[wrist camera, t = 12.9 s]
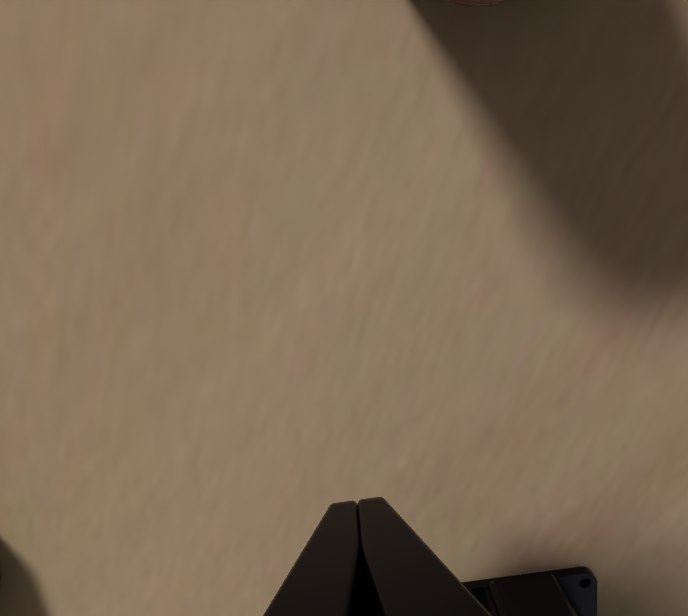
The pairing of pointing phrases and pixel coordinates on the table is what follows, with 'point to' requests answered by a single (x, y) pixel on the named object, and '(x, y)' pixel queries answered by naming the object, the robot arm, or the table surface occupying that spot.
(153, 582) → the table surface
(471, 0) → the soda can
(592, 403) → the table surface
